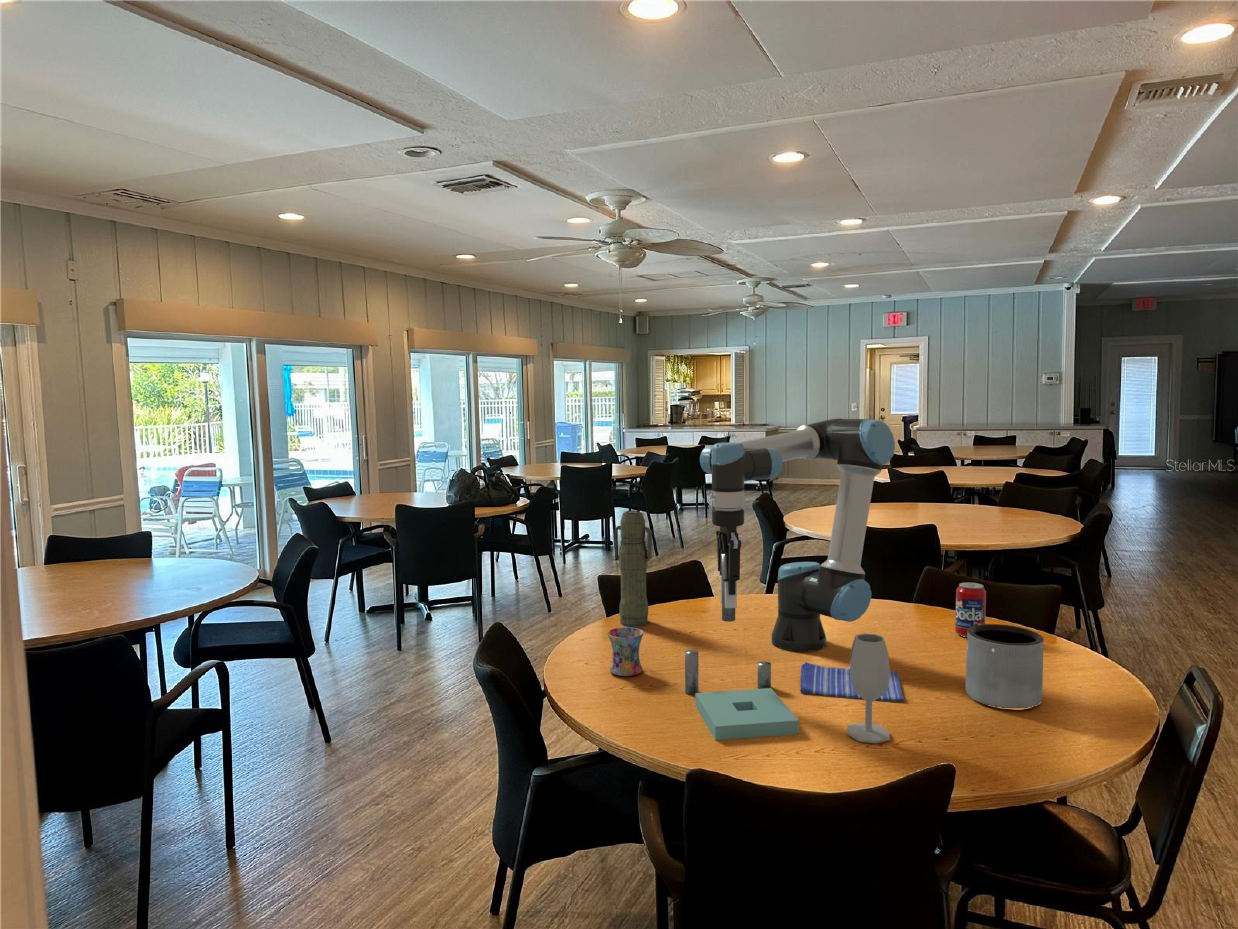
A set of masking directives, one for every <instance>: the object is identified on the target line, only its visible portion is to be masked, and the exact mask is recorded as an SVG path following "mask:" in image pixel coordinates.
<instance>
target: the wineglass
mask: <svg viewBox="0 0 1238 929" xmlns="http://www.w3.org/2000/svg"><path fill="white" fill-rule="evenodd" d="M889 658H890V657H889V652H888V647H887V644H886V640H885V637H884V636H882V635H879V634H877V633H867V632H866V633H865V632H864V633H859V634H855V636H854V639H853V641H852V645H851V651H850V655H849V669H850V677H851V682H852V686H853V690H854V691H855V692H856V693H857V694H858V695H859V696H860V697H862V698H863V699H862V700H864V701H865V712H864V713H865V715H864V716H865V719H864V721H865V722H858V723H853V724H849V725H847V734H848V736H849V737H850V738H852V739H853V740H855V741H857V742H859V743H866V744H881V743H885V742H888V741H889V742H890V740H891V737H890V731H889V729H887V728H885V727H883V726H882V725H879V724H877V723H873V702H875V701H877V700H876V699H878V698H879V697H881V696H882V695H884V694H885V693H886V691H887V688H888V685H889V681H890V671H891V665H890V659H889Z"/></svg>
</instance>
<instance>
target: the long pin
mask: <svg viewBox="0 0 1238 929" xmlns="http://www.w3.org/2000/svg"><path fill="white" fill-rule="evenodd" d="M721 564H722V576H721V577H722V604H721V620H722V621H723V622H726V623H727V622H729V623H731V622H735V621H736V608H725V582H724V581H723V579H726V565H725V553H722V554H721Z"/></svg>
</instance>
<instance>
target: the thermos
mask: <svg viewBox="0 0 1238 929" xmlns="http://www.w3.org/2000/svg"><path fill="white" fill-rule="evenodd" d="M619 522H620V525H617V526H616V527H615V529H614V532H613V533H614V534H613V537H614V542H613V543H614V559H615V560H617V561H618V563H619V564H618V567H619V570H620V602H619V616H620V618H619V619H620V621H619V623H620V625H621V626H623V627H633V628H639V627H643V626H646V625H648V623H649V621H648V619H649V618H648V616H649V603H648V602H649V601H648V599H647V570H648V569H647V568H648V562H649V561H650V560H651V559H652V558H653V556H652V555H653V554H652V550H653V549H652V548H653V547H652V546H653V531H652V530H651V529H650V527H648V526H646V521H645V517H644V515H643V512H642V511H640V510H626V511H624V512H622V515H621V518H620V521H619ZM618 530H619V531H620V539H621V540H620V546H619V531H618ZM646 533H647V545H646Z"/></svg>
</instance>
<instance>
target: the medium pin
mask: <svg viewBox="0 0 1238 929" xmlns="http://www.w3.org/2000/svg"><path fill="white" fill-rule="evenodd" d="M699 688H700V686H699V650H697V649H687V650H685V651H684V694H686V695H690V696H693V695H694V696H695V693H700V691H699Z"/></svg>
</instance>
